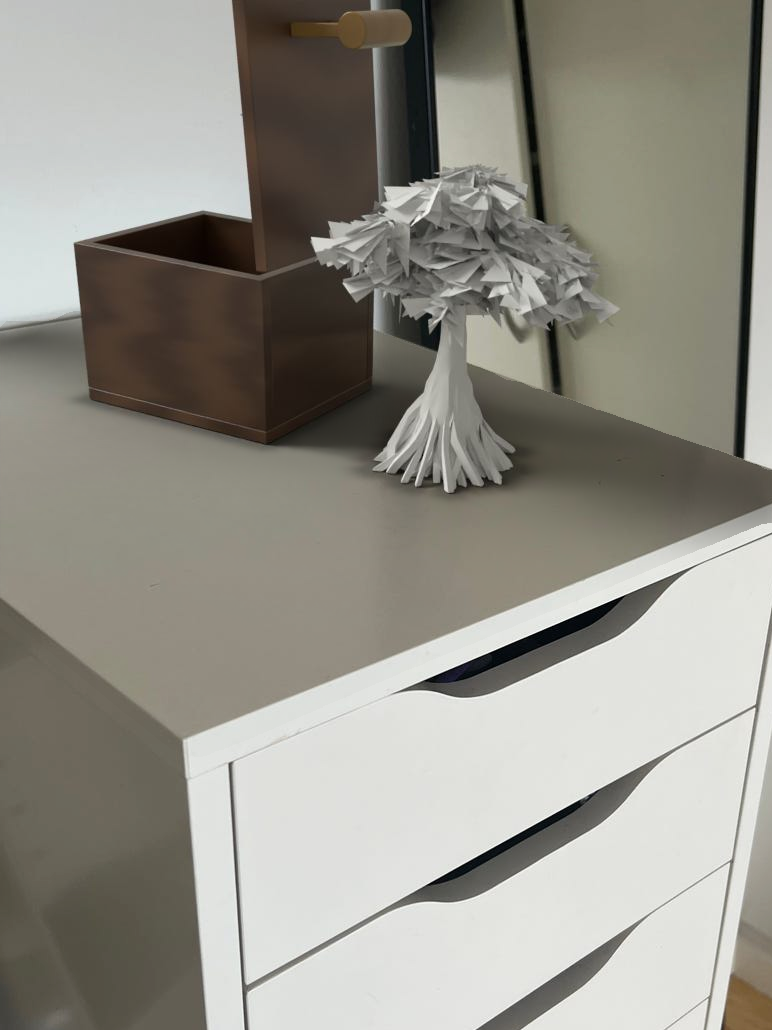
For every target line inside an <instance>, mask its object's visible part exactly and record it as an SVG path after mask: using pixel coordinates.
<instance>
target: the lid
mask: <svg viewBox="0 0 772 1030" xmlns="http://www.w3.org/2000/svg"><path fill="white" fill-rule="evenodd" d="M371 1H372V0H231V6H232V17H233V29H234V41H235V50H236V52H235V53H236V62H237V72H238V73H237V74H238V83H239V95H240V96H239V97H240V106H241V115H242V116H241V117H242V118H241V119H242V128H243V139H244V148H245V149H244V151H245V161H246V162H245V163H246V171H247V183H248V195H249V206H250V216H251V219H252V228H253V239H254V250H255V261H256V271H258V272H270V271H273V270H276V269H279V268H282V267H285V266H288V265H291V264H294V263H297V262H300V261H303V260H306V259H309V258H312V257H315V256H317V255H316V253H315V250H314V248H313V246H312V244H311V241H312V239H311V237H317V238H327V239H331V238H330V233H329V230H331V229H330V226H329V223H328V221H330V222H338V223H341V221H342V222H345V223H348V224H351V222H354V220H357V221H366V219H364V218H363V217H362V216H363V215H369V214H370V213H371V212H372V211H373V209H374V203H375V201H376V202H378V203H379V204H380V191H379V188H380V187H379V168H378V167H379V166H378V165H379V163H378V145H377V144H378V143H377V139H378V138H377V117H376V96H375V95H376V93H375V73H374V72H375V71H374V68H375V67H374V50H373V49H376V48H389V47H398V46H404V45H405V44H406V43H407V42H408V41H409V39H410V38H411V36H412V29H413V26H412V21H411V19H410V17H409V15H408V14H407V13H406V12H405V11H404V10H401V9H398V8H397V9H396V8H393V9H374V10H372V2H371ZM310 240H311V241H310Z"/></svg>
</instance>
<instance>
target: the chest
mask: <svg viewBox="0 0 772 1030" xmlns="http://www.w3.org/2000/svg"><path fill="white" fill-rule="evenodd" d="M73 253H74V261H75V271H76V280H77V289H78V300H79V301H78V302H79V309H80V310H79V311H80V317H81V319H80V320H81V328H82V337H83V338H82V339H83V348H84V357H85V367H86V376H87V377H86V378H87V386H88V393H89V399H90V400H94V401H98V402H101V403H105V404H108V405H113V406H117V407H121V408H125V409H129V410H133V411H137V412H140V413H144V414H148V415H152V416H156V417H160V418H163V419H168V420H171V421H175V422H179V423H183V424H185V425H186V424H187V425H190V426H195V427H199V428H202V429H206V430H209V431H214V432H218V433H221V434H226V435H230V436H233V437H237V438H240V439H245V440H249V441H253V442H256V443H261V444H265V445H268V444H269V443H271V442H273V441H275V440H277V439H279V438H281V437H282V436H285V435H287V434H288V433H291V432H292V431H294V430H296V429H298V428H299V427H302V426H304V425H305V424H307V423H309V422H311V421H313V420H314V419H316V418H318V417H319V418H320V417H321V416H322V415H325V414H326V413H328V412H330V411H332V410H333V409H336V408H338V407H339V406H341V405H343V404H345V403H347V402H349V401H351V400H353V399H354V398H356V397H358V396H360V395H363V394H364V393H366V392H368V391H370V390H372V389H373V376H374V375H373V373H374V372H373V371H374V370H373V369H374V326H375V325H374V319H375V318H374V315H375V289H374V290H373V291H371V292H370V293H369V294H367V295H366V296H365V297H363V298H362V299H361V300H359V301H358V302H355V300H354V299H353V297H352V296H351V294H350V293H349V292H348V290H347V289H346V288H345V286H344V285H343V283H344V282H343V279H347V278H351V277H352V271H351V273H350V268H349V269H348V270H347V263H346V264H344V265H343V266H342V267H340V268H339V269H338V270H337V268H336V267H335V265H331V266H329V267H327V263H326V264H323V265H321V264H320V262H319V259H317V256H315V257H312V258H309V259H306V260H303V261H300V262H297V263H294V264H291V265H288V266H285V267H282V268H279V269H276V270H273V271H270V272H258V271H256V261H255V250H254V239H253V228H252V218H247V217H241V216H238V215H237V216H236V215H230V214H227V213H226V214H225V213H220V212H214V211H208V210H204V209H202V210H198V211H195V212H190V213H185V214H182V215H178V216H174V217H170V218H166V219H163V220H157V221H154V222H151V223H146V224H142V225H138V226H134V227H130V228H126V229H122V230H117V231H113V232H111V233H106V234H103V235H98V236H94V237H91V238H86V239H83V240H78V241H74V242H73ZM316 259H317V260H316ZM365 267H367V264H366V265H365ZM365 267H364V268H365ZM364 272H365V270H364V269H363V271H362V273H364ZM362 273H361V274H362ZM358 275H359V272H358V273H357V274H356V275H355V276H358ZM355 276H353V277H355ZM369 279H370V278H369Z"/></svg>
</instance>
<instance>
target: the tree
mask: <svg viewBox="0 0 772 1030" xmlns="http://www.w3.org/2000/svg"><path fill="white" fill-rule="evenodd" d="M498 169H499V166H496V167H495V168H493V167H492V166H491V167H490V166H489V167H487V166H486V165H483V164H482V163H480V164H479V163H477V164H472V165H471V164H469V165H468V166H462V167H454V168H451V167H447V166H442V167H441V171H438V172H434V174H435V175H440V176H439V177H437V178H431V179H427V178H422V181H414V183H413V182H408V184H409V185H410V186H383V189H384V190H385V192H384V196H385V198H386V201H382V203H380V202H379V203H378V202H376V201H375V203H374V209H373V211H372V212H371V213H370V214H369V215H363V216H362V217H363V218H364V219H366V221H357V220H354V222H351V224H348V223H345V222H342V221H341V223H338V222H330V221H328V223H329V226H330V229H331V230H329V233H330V238H331V239H327V238H317V237H311V239H312V241H311V240H310V241H311V244H312V246H313V248H314V250H315V253H316V255H317V259H319V262H320V264H321V265H323V264H326V263H327V267H329V266H331V265H335V267H336V268H337V270H338V269H339V268H340V267H342V266H343V265H344V264H346V263H347V270H348V269H349V268H350V273H351V271H352V277H351V278H347V279H343V282H344V283H343V285H344V286H345V288H346V289H347V290H348V292H349V293H350V294H351V296H352V297H353V299H354V300H355V302H358V301H359V300H361V299H362V298H363V297H365V296H366V295H367V294H369V293H370V292H371V291H373V290H374V291H375V290H377V289H379V290H380V292H381V293H383V297H382V298H383V299H384V298H385V301H387V299H388V294H389V295H390V299H391V302H392V305H393V306H395V296H396V297H398V296H399V320H398V324H400V323H401V322H400V321H401V318H403V317H405V316H409V317H410V318H414V320H415V321H418V320H419V319H420V318H421V317H424V315H425V314H427V313H428V314H430V315H431V316H432V317H431V318H429V319H428V320H427V321H428V332H429V333H428V335H431V333H432V332H433V331H434V330H435V328H436V327H437V326H438V323H440V321H441V323H440V324H441V326H440V338H439V339H440V340H439V344H438V349H437V353H436V358H435V362H434V365H433V368H432V370H431V372H430V374H429V375H428V378H427V379H426V382H425V385H424V390H423V393H421V394H420V395H419V396H418V397H417V398H416V399H415V400H414V402H412V404H411V405H410V406H409V407H408V408H407V409H406V411H405V413H404V414H403V416H402V418H401V420H400V421H399V423H398V425H397V427H395V429H394V432H393V433H392V435H391V437H390V438H389V440H388V442H387V444H386V446H385V447H384V448H382V450H383V451H381V452H380V453H379V454H378V455H377V456H376V457H374V458H373V461H375V462H379V464H377V465H375V466H374V467H373V468H372V469H371V471H374V472H384V471H385V472H386V473H385V474H396V473H397V472H398V471H399V469H401V470H402V471H404V474H403V476H402V477H401V479H400V484H408V483H409V481H410V479H411V478H412V477H416V479H415V481H414V486H415V488H418V487H420V486H422V483H423V479H424V477H425V478H427V477H429V476H431V475H432V482H433V484H440V483H441V480H442V481H443V489H444V491H445V492H446V493H447V494H450V493H454V492H455V490H456V489H457V485H458V486H462V487H464V488H466V487H468V484H467V479H469V480H470V482H471V484H472V485H473V486H477V487H483V486H484V485H485V483H484V480H483V478H484V479H485V478H487V480H489V481H493V483H494V484H498V485H502V483H503V481H502V479H503V476H502V475H501V473H500V472H505V471H507V470H508V471H509V470H511V468H514V465H513V463H512V461H511V460H510V459H509V457H508V456H507V455H506V454H514V453H515V452H516V449H515V447H514V446H513V445H512V444H510V443H509V442H508V441H506V440H505V439H503V438H502V436H500V435H498V434H496V432H495V431H494V430H493V429H492V427H491V426H490V425H489V424H488V423H487V421H486V420H485V419H484V417H483V413H482V410H481V408H480V405H479V403H478V402H477V400H476V398H475V396H474V389H473V383H472V381H471V377H470V376H469V373H468V366H467V365H468V364H467V360H468V359H467V357H468V353H467V351H468V350H467V349H468V348H467V347H468V332H467V331H468V329H467V316H482V318H483V319H485V316H491V317H492V318H493V320H494V322H496V324H497V325H498V326H499V327H500V329H503V328H502V320H501V315H503V316H505V314H504V312H506V313H507V308H508V309H509V311H510V314H511V318H513V317H514V316H513V315H514V310H515V311H516V312H517V316H520V317H521V316H522V318H523V319H524V320H525V322H526V323H527V325H528V326H529V327H530V328H531V329H532V328H534V327H536V326H537V327H539V329H545V330H548V331H549V332H550V331H551V329H550V328H549V326H548V324H549V323H550V324H551V325H553V323H554V320H556V321H558V322H560V323H559V325H558V328H560V327H563V326H564V325H565V326H566V325H567V324H569V323H571V322H578V323H581V320H580V319H582V318H583V317H585V316H587V315H588V314H589V313H592V314H594V315H595V316H596V319H597V320H598V322H599V324H602V323H604V322H606V323H608V325H610V326H611V327H613V328H614V327H615V326H614V325H613V324H612V322H611V321H610V319H608V318H610V317H612V316H614V315H615V313H616V312H618V311H619V310H621V308H620V307H619V306H617V305H615V304H614V303H612V302H610V301H609V300H608V299H606V298H604V297H603V296H601V295H600V294H598V293H596V292H595V291H593V290H591V289H592V287H593V286H594V285H595V284H596V285H598V286H602V287H603V285H602V284H600V283H598V282H596V281H597V280H598V278H599V277H600V274H599V273H596V272H595V270H594V268H599V267H605V266H606V264H601V263H602V261H593V262H592V261H590V260H591V259H590V258H591V257H592V256H593V255H594V254H595V253H592V252H589V253H587V252H588V249H586V248H581V247H578V246H577V245H578V243H576V242H577V240H574V241H571V242H569V241H566V240H567V238H568V237H569V236H570V235H571V233H570V232H562V231H564V230H566V229H568V228H570V226H568V225H557V224H550V223H545V222H543V221H542V220H539V219H536V218H532V217H530V216H526V217H525V216H524V214H525V213H526V211H527V210H528V209H527V208H526V207H524V205H522V202H523V201H524V202H526V203H529V201H528V200H527V195H528V193H527V192H528V186H529V184H527V183H524V182H522V181H519V180H515V179H513V178H510V177H507V175H508V172H507V173H498V172H497V170H498ZM317 259H316V260H317ZM366 264H367V267H365V265H366ZM364 267H365V268H364ZM363 269H364V270H365V272H364V273H362V271H363ZM591 270H592V271H593V272H591ZM358 272H359V275H358V276H355V275H356V274H357V273H358ZM361 273H362V274H361ZM353 276H355V277H353ZM369 278H370V279H369ZM407 294H409V295H407ZM402 307H404V311H403V313H402ZM401 315H402V316H401ZM559 315H560V316H562V317H560V316H559ZM422 455H423V456H422ZM420 459H421V460H420Z"/></svg>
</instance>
